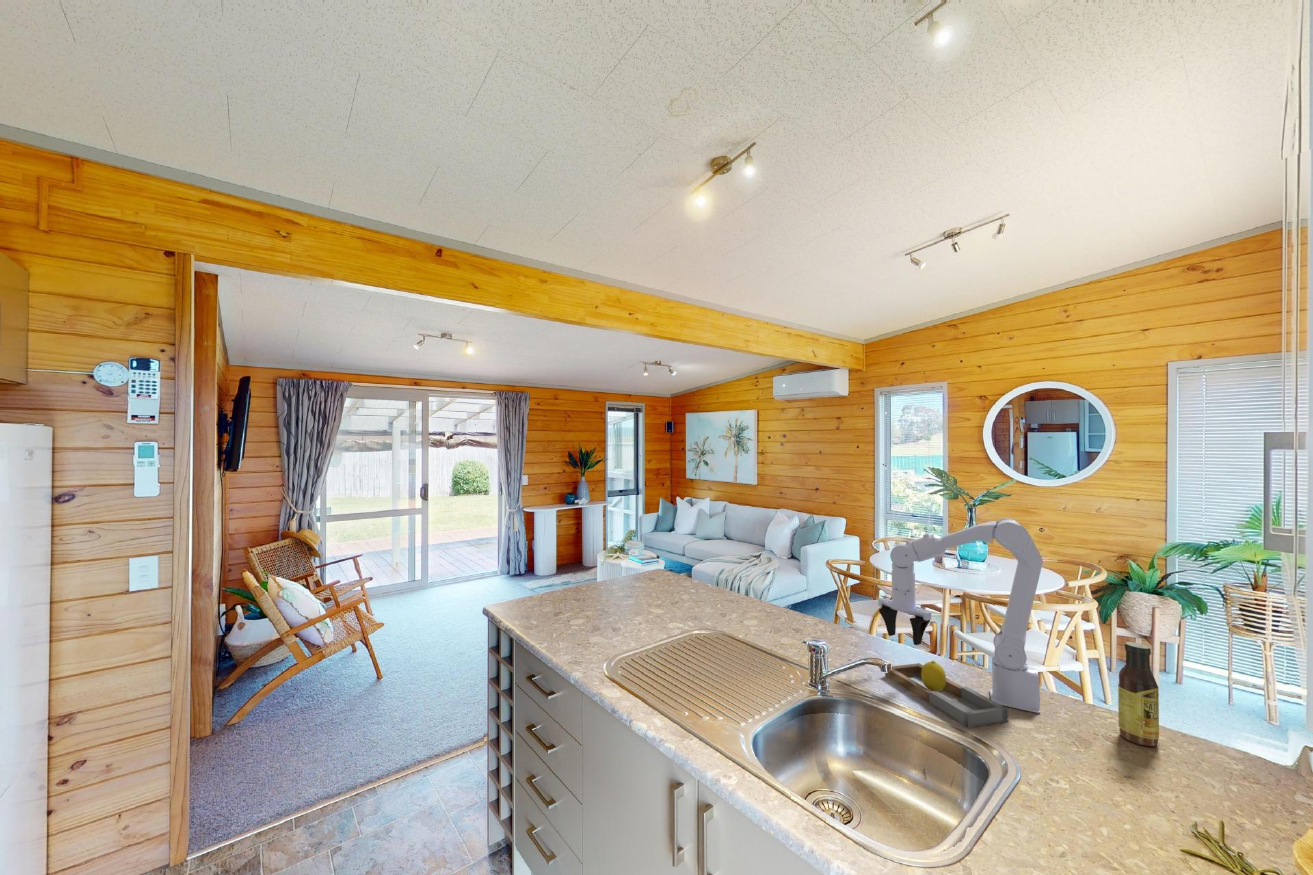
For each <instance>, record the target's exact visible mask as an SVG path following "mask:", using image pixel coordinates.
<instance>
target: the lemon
mask: <svg viewBox="0 0 1313 875" xmlns="http://www.w3.org/2000/svg"><path fill="white" fill-rule="evenodd" d="M946 674H947V673H946V672H945V670H944V668H943V667H942V665H940V664H939V663H938V662H937V661H935V660H932V661H928V662H926V663H924V665H923V668H922V672H921V676H920V677H921V681H922V684H923V686H924V687H925V688H927V689H929V690H930V691H936V692H937V693H939V692H941V691H943V690H944V687H945V685H946V678H947V675H946Z"/></svg>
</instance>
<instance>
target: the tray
mask: <svg viewBox="0 0 1313 875" xmlns="http://www.w3.org/2000/svg"><path fill="white" fill-rule="evenodd" d="M961 695H962V698H958V697H957V698H951V699H949V698H948V697H946V696H944V695H942V694H941V693H939V692H936V691H931V690H930V692H929V705H930V706H932V707H933V708H935V709H937V710H938V711H940V712H941V713H943V715H946V716H948V717H949V718H951V719H952V720H955V721H956V722H957V723H958V724H960V725H962V726H963V727H965V728H967V729H973V728H979V727H984V726H985V725H986V726H990V725H991V726H992V725H998V724H997V723H999V724H1004V723H1008V721H1009V716H1008V712H1009V711H1008V710H1009V709H1008V708H1007V706H1003V705H1000V704H998V703H996V702H994V701H992V700H991V698H990V697H989V698H988V697H986V696H985V695H983V694H981V693H980V692H977V691H976V690H973V689H972V688H970V687H968V686H962V687H961Z"/></svg>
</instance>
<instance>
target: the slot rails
mask: <svg viewBox="0 0 1313 875" xmlns="http://www.w3.org/2000/svg"><path fill="white" fill-rule="evenodd" d="M923 666H924V665H923V664H922V663H909V664H898V665H893V666H892V670H891V671H890V672H888V673H885V672H884V676H885V678H887V679H889V680H890V681H892V682H893V683H895V684H897V685H898V686H900V687H901V688H903V689H904V690H906V691H908V692H909V693H911V694H913V695H914V696H915V697H917V698H919V699H920V700H921V701H924V702H926V703H927V704H929V692H930V691H931V690H929V689H927V688H926V687H925V685H922V684H921V683H918V682H917V681H915V680H913V679H912V678H910V677H915V676H920V677H921V672H922V668H923ZM961 687H963V686H962V685H960V684H958V683H956V682H955V681H953V680H951V679H950V678H947V677H946V685H945V687H944V689H943V690H944V691H946V692H947V693H949V694H951V695H953V696H954V697H956V698H957V699H958V698H962V695H961ZM929 705H930V704H929Z"/></svg>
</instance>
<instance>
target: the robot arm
mask: <svg viewBox="0 0 1313 875" xmlns="http://www.w3.org/2000/svg"><path fill="white" fill-rule="evenodd" d="M922 536H923V537H919V538H917V539H913V540H910V539H907V540H905V543H903V542H902V543H897V544H896V545H895V546H894V547H893V548H892V549H891V551H890V554H889V555H890V561H891V562H892V563H891V599H888V598H884V597H882V598H878V599H877V602H878V605H877V606H878V607H881V608H879V609H878V612H879V614H880V616H881V617H882V619H883V622H884V624H885V628H886V632H887V635H888V636H889V637H892V636H895V635H896V632H897V631H896V630H897V625H896V624H897V616H898V612H900V613H904V614H907V615H910V616H914V617H910V618H909V621H910V625H911V629H912V642H913V645H914V646H918V645H922V640H923V636H924V634H925V631H926V629H927V627H928V625H929V624H930V622H931V620H932V611H930V610H926V609H924V608H921V607H919V606H918V605H916V604H917V603H916V572H915V562H918V563H921V562H924V561H927V560H932V559H935V558H938V557H941V556H944V555H945V554H946V550H947V549H950V548H954V547H958V546H962V545H966V544H970V543H974V542H978V541H981V542H985V543H990V544H994V540H995V541H996V542H997V543H998V545H1000V546H1001V547H1003V548H1004V549H1006V550H1007V551H1009V552H1010V553H1011V555H1012V556H1013V558H1015V560H1016V561H1017V565H1016V568H1015V569H1016V570H1015V573H1014V578H1013V581H1012V586H1011V590H1010V595H1009V598H1008V602H1007V607H1006V611H1005V615H1004V620H1003V622H1002V624H1001V627H1000V630H999V632H997V634H995V635H994V637H993V646H994V651H993V653H994V656H993V657H992V658H991V677H992V679H991V682H992V686H991V688H989V694H990V699H991V700H992V701H994V702H996V703H998V704H1000V705H1002V706H1004V707H1008V708H1013V709H1017V710H1022V711H1028V712H1032V713H1035V714H1036V713H1037V714H1041V705H1040V704H1041V703H1040V702H1041V694H1040V693H1041V692H1040V676H1039V671H1038V669H1037V668H1033V667H1030V666H1028V663H1027V654H1026V651H1025V646H1026V639H1027V629H1028V625H1029V621H1030V617H1031V614H1032V613H1031V612H1032V609H1033V605H1034V600H1035V597H1036V592H1037V588H1038V586H1039V585H1038V583H1039V579H1040V577H1041V576H1040V575H1041V571H1042V567H1043V562H1044V561H1043V560H1044V558H1043V557H1042V555H1041V553H1040V551H1039V549H1038V547H1037V545H1036V543H1035V541H1034V539H1033V537H1032V536H1031V534H1030V533H1029V531H1028V530H1027V529H1026V528H1025V527H1024V526H1023V525H1022V524H1020V522H1019V521H1017V520H1014V519H1013V518H1002V519H1000V520H998V521H997V520H992V521H986V522H984V523H978V524H976V525H973V526H970V527H967V528H964V529H961V530H958V531H955V532H952V533H950V534H946V535H943V536H940V535H937V534H935V533H932V534H930V533H928V532H927V533H924V534H923V535H922Z"/></svg>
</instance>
